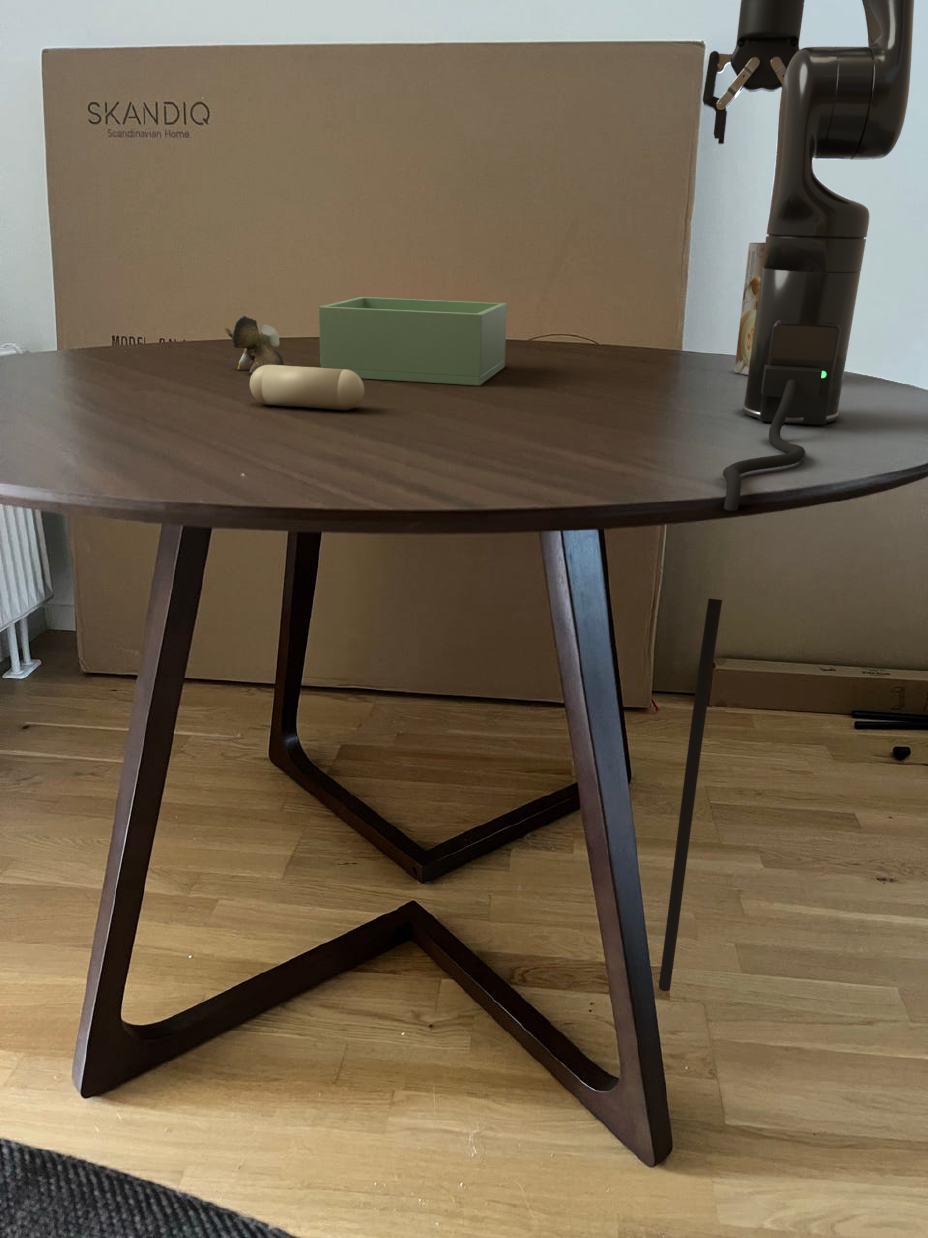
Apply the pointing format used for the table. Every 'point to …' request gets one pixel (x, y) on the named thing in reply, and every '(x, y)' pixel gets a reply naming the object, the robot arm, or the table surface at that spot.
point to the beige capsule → (307, 387)
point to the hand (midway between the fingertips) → (755, 144)
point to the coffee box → (749, 306)
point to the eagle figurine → (255, 343)
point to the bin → (414, 339)
